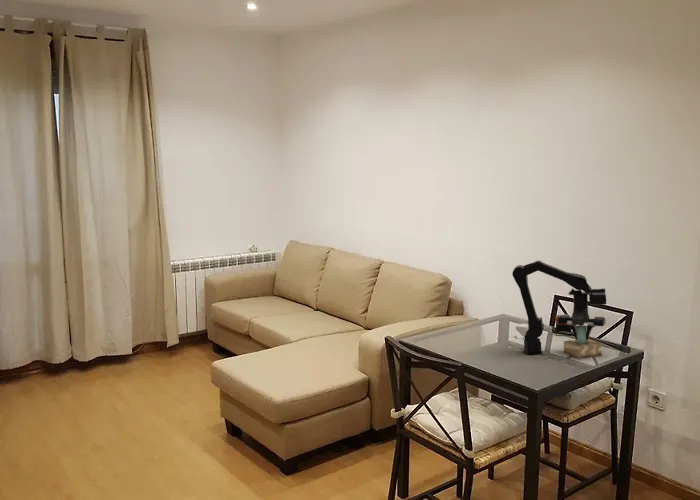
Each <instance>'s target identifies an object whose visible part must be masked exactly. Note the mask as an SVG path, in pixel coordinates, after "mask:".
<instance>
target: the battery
mask: <svg viewBox="0 0 700 500" xmlns="http://www.w3.org/2000/svg"><path fill="white" fill-rule="evenodd" d="M561 315H562V314H557V315H555V332H556V331H557V332H559V331H567V332H571V333H572V329H571V328H570V327H569V326H567V323H565V324H558V318H559V317H560V316H561ZM563 315H569V314H568V313H564V314H563ZM571 317H572V316H570V318H571Z"/></svg>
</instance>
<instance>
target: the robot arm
mask: <svg viewBox="0 0 700 500" xmlns="http://www.w3.org/2000/svg"><path fill="white" fill-rule="evenodd" d="M536 272H541V273H542V274H543V273H544V274H546V275H548V276H550V277H553V278H556V279H559V280H560V281H563V282H565V283H566V284H568V285H569V286H570V287H572V288H571V290H570V291H568V295H569V296H573V299H572V300H573V301H572V302H573V310H572V314H571V316H570V315H569V314H568V315H564V314H560V315H561V316H560V317H559V318H558V324H565V323H567V326H569V327H570V328H571V332H572V334H573V336H574V338H575V340H577V326H579V325H584V326H585V324H587V325H586V329H587V334H586V340H588V339H589V337H590V335H591V332H592V330H593V328H595V327H604V326H605V325H606V318H605V317H604V316H594V317H593V318H590V314H589V303H591V304H592V305H593V306H594V305H595V306H596V305H597V306H599V305H602V306H603V305H607V295H606V288H603V287H602V288H592V287H591V286H590V285H589V284H588V280H587V278H586V276H585V275H583V274H579V273H576V272H575V273H574V272H568V271H565V270H562V269H560V268H558V267H555V266H552V265H550V264H547V263H546V262H542V260H535V261H534V262H531V263H527V264H525V265H516V266H515V267H514V269H513V270H512V273H511V274H512V277H513V280H514V281H515V283H516V285H517V286H518V288H519V292H520V295H521V298H522V302H523V306H524V308H525V312H526V316H527V324H528V327H529V330H528V331H526V333H525V336H524V338H525V339H523V344H524V345H523V350H522V352H523V353H525V354H526V355H529V356H531V355H532V356H533V355H538V354H539V355H541V354H543V351H542V341H541V338H540V337H541V336H542V335H543V331H544V329H545V324H544V323H543V317H539V316H538V315H537V311H536V308H535V305H534V301H533V298H532V295H531V290H530V287H529V278H528V277H529V275H531V274H534V273H536ZM588 300H589V301H588ZM570 317H571V318H570Z"/></svg>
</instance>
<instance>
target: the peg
mask: <svg viewBox="0 0 700 500" xmlns="http://www.w3.org/2000/svg"><path fill="white" fill-rule="evenodd" d="M586 334H587V325H585V324H584V325H577V344H580V345H582V344H587V340H586Z"/></svg>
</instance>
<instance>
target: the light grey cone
mask: <svg viewBox="0 0 700 500" xmlns="http://www.w3.org/2000/svg"><path fill="white" fill-rule="evenodd" d="M516 330H517V331H518V332H519V333H520V334H521V335H522V336H525V333H526V331H528V330H529V327H528V323H520V324H518V325H515V331H516Z"/></svg>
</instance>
